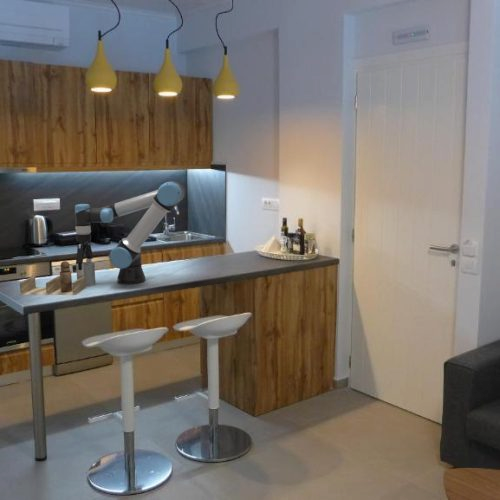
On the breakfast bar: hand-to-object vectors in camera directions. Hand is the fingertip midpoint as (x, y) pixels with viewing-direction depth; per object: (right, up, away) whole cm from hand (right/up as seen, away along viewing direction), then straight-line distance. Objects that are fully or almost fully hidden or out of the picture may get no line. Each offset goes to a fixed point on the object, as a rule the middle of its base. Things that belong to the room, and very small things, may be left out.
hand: (85, 273), depth 329 cm
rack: (-13, -10, -13) cm, 20 cm away
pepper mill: (-6, -9, -13) cm, 17 cm away
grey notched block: (0, -7, +1) cm, 7 cm away
